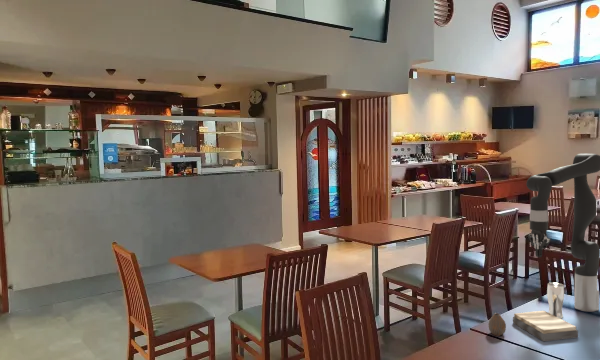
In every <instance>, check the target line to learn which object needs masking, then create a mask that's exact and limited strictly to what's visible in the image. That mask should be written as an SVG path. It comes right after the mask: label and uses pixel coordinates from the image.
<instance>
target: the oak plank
mask: <svg viewBox="0 0 600 360" xmlns="http://www.w3.org/2000/svg"><path fill="white" fill-rule="evenodd" d="M529 325H530V326H531V327H533V328H535V329H536V330H538V331H540V332H542V333H543V334H546V333H555V332H564V331H573V330H577V326H576V325H574V324H571V322H568V321H566V320H564V319H562V318H557V319H548V320H538V321H529Z"/></svg>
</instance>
